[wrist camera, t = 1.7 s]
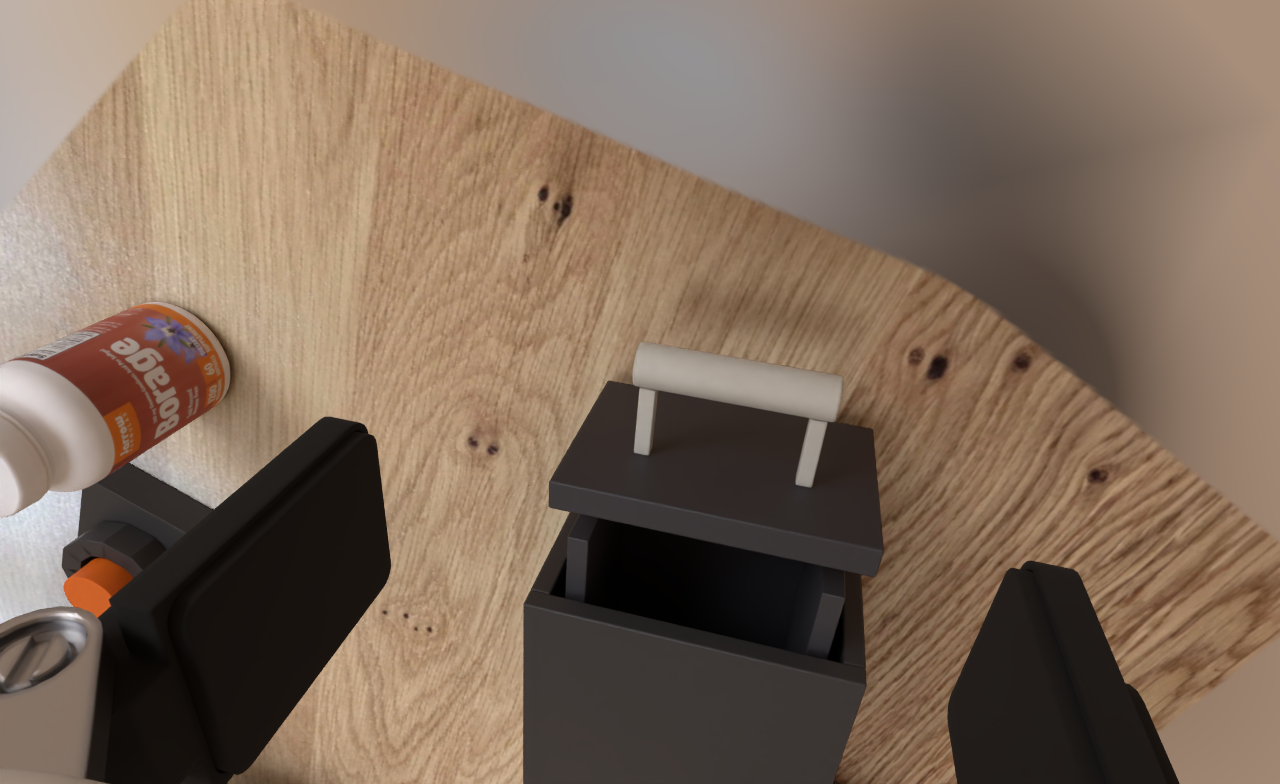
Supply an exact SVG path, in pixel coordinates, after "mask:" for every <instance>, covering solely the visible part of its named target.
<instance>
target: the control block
mask: <svg viewBox="0 0 1280 784" xmlns="http://www.w3.org/2000/svg"><path fill="white" fill-rule="evenodd" d="M212 511H213V510H211V509H210V508H208V507H206V506H204V505H202V504H201V503H199V502H197V501H195V500H193V499H192V498H190V497H188V496H186V495H184V494H183V493H181V492H179V491H177V490H176V489H174V488H172V487H170V486H168V485H167V484H165V483H163V482H161V481H159V480H158V479H156V478H154V477H152V476H150V475H149V474H147V473H145V472H143V471H141V470H140V469H138V468H136V467H134V466H132V465H131V464H129V463H127V464H125V465H124V466H122V467H121V468H119V469H118V470H116V471H115V472H113V473H112V474H110V475H108V476H107V477H105V478H104V479H102V480H100V481H98V482H97V483H95V484H93V485H92V486H89V487H87V488H85V489H82V498H81V509H80V520H79V531H78V538H76V539H75V540H74V541H72V542H71V543H70V544H68V545H67V546H65V547H64V549H63V558H62V568H63V570H64V572H65V574H66V575H67V577H68V578H69V577H71V576H72V575H73V574H75V573H76V572H77V571H79V570H80V569H81V568H83V567H84V566H85V565H86V564H88V563H89V562H90V561H92V560H93V559H95V558H98V557H101V558H106V559H108V560H110V561H112V562H113V563H115V564H117V565H119V566H121V567H123V568H124V569H125V570H126V571H128V572H129V573H130V574H131V575H132V576H133V577H136V576H137V575H138V574H139V573H140V572H141V571H143V570H144V569H145V568H146V567H147V566H149V565H150V564H151V563H152V562H153V561H154V560H156V559H157V558H158V557H159V556H160V555H161V554H163V553H164V552H165V551H166V550H167V549H168V548H170V547H171V546H172V545H173V544H174V543H176V542H177V541H178V540H179V539H180V538H181V537H183V536H184V535H185V534H186V533H187V532H188V531H190V530H191V529H192V528H193V527H194V526H196V525H197V524H198V523H199V522H200V521H201V520H203V519H204V518H205V517H206V516H207V515H208V514H210V513H211V512H212Z"/></svg>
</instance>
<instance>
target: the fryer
mask: <svg viewBox="0 0 1280 784" xmlns="http://www.w3.org/2000/svg"><path fill="white" fill-rule="evenodd" d="M578 515H579V514H578V513H573V512H570V513H569V515H568V517H567V519H566V521H565V523H564V525H563V527H562V529H561V531H560V533H559V535H558V537H557V539H556V541H555V543H554V545H553V547H552V549H551V551H550V553H549V555H548V557H547V559H546V561H545V563H544V565H543V567H542V569H541V571H540V573H539V575H538V577H537V578H536V580H535V582H534V584H533V586H532V588H531V591H530V592H529V594H528V596H527V598H526V600H525V602H524V673H523V784H833V781H834V779H835V776H836V773H837V770H838V767H839V764H840V761H841V758H842V755H843V753H844V750H845V747H846V744H847V741H848V738H849V735H850V732H851V729H852V727H853V724H854V721H855V718H856V715H857V712H858V709H859V706H860V704H861V701H862V698H863V695H864V692H865V689H866V686H867V682H866V670H865V669H866V661H865V640H864V620H863V599H862V578H861V574H857V573H852V572H848V571H845V601H844V605H843V608H842V611H841V615H840V618H839V621H838V625H837V628H836V631H835V635H834V638H833V641H832V645H831V648H830V651H829V655H828V658H827V660H826V659H821V658H817V657H813V656H809V655H804V654H800V653H796V652H792V651H787V650H783V649H779V648H775V647H770V646H766V645H762V644H757V643H753V642H749V641H745V640H740V639H736V638H732V637H728V636H723V635H719V634H715V633H711V632H706V631H702V630H698V629H694V628H689V627H685V626H681V625H676V624H672V623H668V622H664V621H659V620H655V619H651V618H647V617H642V616H638V615H634V614H630V613H625V612H621V611H617V610H613V609H608V608H604V607H600V606H595V605H591V604H587V603H583V602H578V601H574V600H570V599H566V598H565V594H566V569H567V544H568V536H569V534H570V532H571V529H572V527H573V525H574V523H575V521H576V519H577V517H578Z"/></svg>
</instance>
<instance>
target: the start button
mask: <svg viewBox="0 0 1280 784" xmlns="http://www.w3.org/2000/svg"><path fill="white" fill-rule="evenodd" d="M133 578H134V577H133V576H132V575H131V574H130V573H129V572H128V571H126V570H125V569H124V568H123V567H121V566H119V565H117V564H115V563H113V562H112V561H110V560H108V559H106V558H101V557H98V558H95V559H93V560H92V561H90V562H89V563H88V564H86V565H85V566H84V567H83V568H81V569H80V570H79V571H77V572H76V573H75V574H73V575H72V576H71V577H69V578H68V579H67V580H66V581H65V583H64V592H65V594H66V597H67V598H68V600H69V601H70V603H71V604H72V605H73V606H74V607H79V608H81V609H84V610H87V611H90V612H92V613H93V614H94V615H95V616H96V617H97V618H98V617H99V616H100V615H101V614H102V613H103V612H105V611H106V610H107V609H108V608H109V607H110V606H111V605H110V602H109V599H110V598H111V597H112V596H113V595H114V594H116V593H117V592H118V591H119V590H120V589H122V588H123V587H124V586H125V585H126V584H127V583H129V582H130V581H131V580H132V579H133Z"/></svg>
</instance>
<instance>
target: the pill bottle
mask: <svg viewBox="0 0 1280 784" xmlns="http://www.w3.org/2000/svg"><path fill="white" fill-rule="evenodd" d="M229 384H230V366H229V362H228V359H227V356H226V354H225V352H224V350H223V348H222V346H221V344H220V342H219V341H218V339H217V338H216V337H215V335H214V334H213V333H212V332H211V331H210V329H209V328H208V327H207V326H206V325H205V324H204V323H203V322H201V321H200V320H199V319H198V318H197V317H195V316H194V315H192V314H191V313H189V312H188V311H186V310H184V309H182V308H180V307H178V306H175V305H172V304H169V303H165V302H148V303H143V304H140V305H137V306H135V307H132V308H130V309H127V310H125V311H123V312H120V313H118V314H116V315H114V316H111V317H109V318H107V319H104V320H102V321H100V322H98V323H95V324H93V325H90V326H88V327H86V328H84V329H81V330H79V331H77V332H75V333H72V334H70V335H68V336H66V337H63V338H61V339H59V340H57V341H54V342H52V343H50V344H47V345H45V346H43V347H40V348H38V349H36V350H33V351H31V352H29V353H26V354H24V355H22V356H20V357H17V358H14V359H12V360H10V361H8V362H6V363H3V364H1V365H0V518H2V517H8V516H12V515H14V514H16V513H18V512H19V511H21V510H23V509H24V508H26V507H28V506H29V505H31V504H33V503H35V502H37V501H38V500H40V499H41V498H42V497H43V496H44V494H45V493H46V492H47V491H48V490H50V491H57V492H70V491H77V490H81V489H85V488H87V487H89V486H92V485H93V484H95V483H97V482H98V481H100V480H102V479H104V478H105V477H107V476H108V475H110V474H112V473H113V472H115V471H116V470H118V469H119V468H121V467H122V466H124V465H125V464H127V463H129V462H130V461H132V460H133V459H135V458H136V457H138V456H139V455H141V454H142V453H144V452H145V451H147V450H148V449H150V448H151V447H153V446H155V445H156V444H158V443H159V442H161V441H162V440H164V439H165V438H167V437H168V436H170V435H172V434H173V433H175V432H176V431H178V430H179V429H181V428H182V427H184V426H185V425H187V424H188V423H190V422H192V421H193V420H195V419H196V418H198V417H199V416H201V415H202V414H204V413H206V412H207V411H209V410H210V409H211V408H213V407H214V406H215V405H217V404H218V403H219V402H220V401H221V400H222V399H223V398H224V396H225V395H226V393H227V390H228V388H229Z"/></svg>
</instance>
